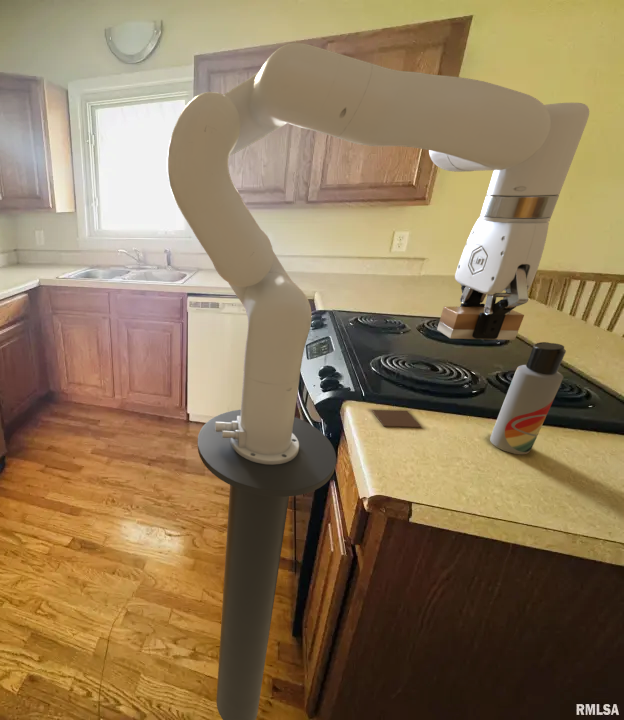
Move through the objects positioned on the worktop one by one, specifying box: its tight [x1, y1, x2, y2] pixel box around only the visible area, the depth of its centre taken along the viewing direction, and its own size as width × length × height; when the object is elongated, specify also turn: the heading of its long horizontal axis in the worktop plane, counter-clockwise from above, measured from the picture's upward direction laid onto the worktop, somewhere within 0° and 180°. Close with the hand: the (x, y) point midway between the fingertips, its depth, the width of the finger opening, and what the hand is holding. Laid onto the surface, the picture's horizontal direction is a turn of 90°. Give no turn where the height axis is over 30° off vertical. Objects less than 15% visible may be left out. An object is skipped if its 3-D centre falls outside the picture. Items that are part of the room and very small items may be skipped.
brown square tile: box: [371, 409, 422, 428], centre depth 81 cm, size 7×6×1 cm
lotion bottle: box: [489, 341, 567, 455], centre depth 68 cm, size 6×6×20 cm
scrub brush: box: [436, 306, 525, 341], centre depth 62 cm, size 9×4×4 cm, turn 82°
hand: (474, 331), depth 62 cm, fingers closed on scrub brush, 4 cm apart
